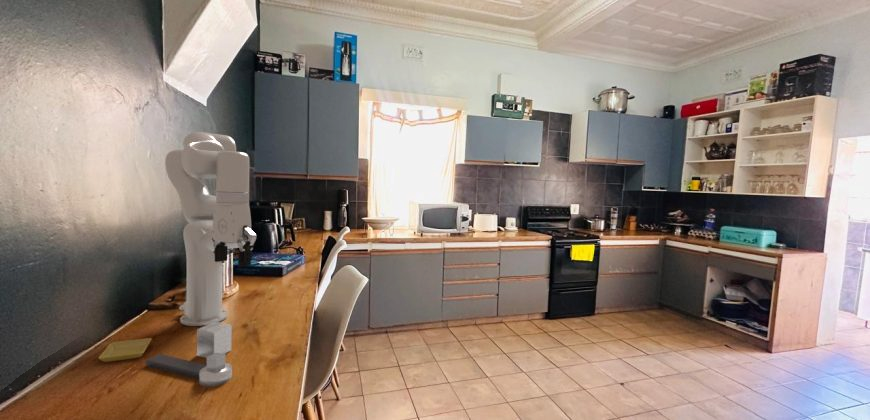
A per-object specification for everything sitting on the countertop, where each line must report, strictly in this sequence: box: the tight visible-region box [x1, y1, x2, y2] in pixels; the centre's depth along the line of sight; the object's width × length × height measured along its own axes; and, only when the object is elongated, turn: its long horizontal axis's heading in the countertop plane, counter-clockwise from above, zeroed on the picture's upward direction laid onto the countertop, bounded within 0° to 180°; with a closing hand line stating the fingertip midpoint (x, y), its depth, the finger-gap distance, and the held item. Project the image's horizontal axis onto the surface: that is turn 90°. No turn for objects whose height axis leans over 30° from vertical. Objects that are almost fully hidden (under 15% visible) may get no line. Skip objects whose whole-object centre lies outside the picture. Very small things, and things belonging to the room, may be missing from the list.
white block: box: [196, 321, 233, 359], centre depth 93 cm, size 5×5×7 cm
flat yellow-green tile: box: [98, 337, 153, 363], centre depth 90 cm, size 9×9×2 cm
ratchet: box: [145, 353, 233, 388], centre depth 84 cm, size 22×6×5 cm, turn 75°
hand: (232, 263), depth 95 cm, fingers open, 9 cm apart
